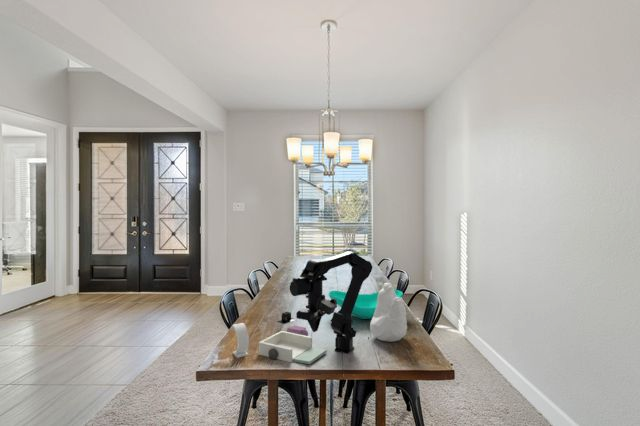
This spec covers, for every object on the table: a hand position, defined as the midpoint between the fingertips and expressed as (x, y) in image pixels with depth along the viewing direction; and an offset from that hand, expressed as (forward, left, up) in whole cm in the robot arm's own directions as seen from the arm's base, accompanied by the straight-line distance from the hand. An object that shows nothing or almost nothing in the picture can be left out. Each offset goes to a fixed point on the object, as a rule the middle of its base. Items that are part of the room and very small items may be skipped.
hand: (315, 331), depth 157 cm
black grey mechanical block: (+37, -34, -12) cm, 52 cm away
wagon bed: (+14, 0, -11) cm, 18 cm away
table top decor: (+4, -59, -11) cm, 60 cm away
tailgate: (+6, 0, -10) cm, 12 cm away
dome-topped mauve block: (+19, -16, -11) cm, 27 cm away
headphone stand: (+28, +12, -11) cm, 32 cm away
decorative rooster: (-19, -33, -11) cm, 39 cm away
